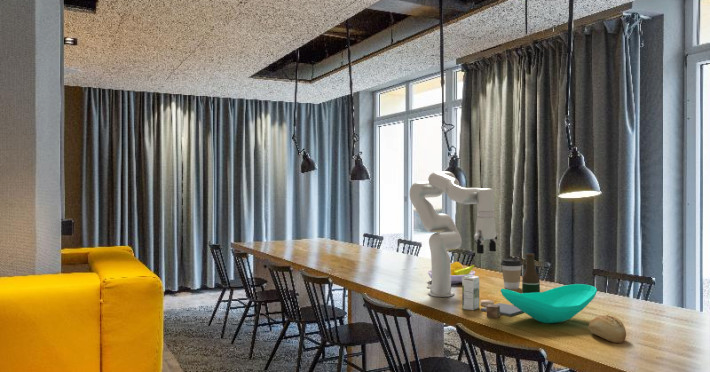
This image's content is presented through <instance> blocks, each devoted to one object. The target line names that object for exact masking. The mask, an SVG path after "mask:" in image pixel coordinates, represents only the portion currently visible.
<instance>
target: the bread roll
mask: <svg viewBox="0 0 710 372" xmlns="http://www.w3.org/2000/svg"><path fill="white" fill-rule="evenodd" d="M588 330H589V332H590V333H591V334H593V335H595V336H598V337H600V338H602V339H605V340H606V341H609V342H611V343H615V344H621V343H624V341H626V337H627V331H626V328H625V325H624V323H623V321H622V320H620V319H619V318H618V317H615V316H611V315H600V316H597V317H594V318H592V319H591V320H590V322H589V324H588Z"/></svg>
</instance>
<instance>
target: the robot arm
mask: <svg viewBox="0 0 710 372" xmlns="http://www.w3.org/2000/svg"><path fill="white" fill-rule="evenodd" d="M494 192H495V191H494V189H493V188H489V187H487V188H485V187H484V188H481V187H461V186H460V182H459V180H458V179H457V178H456V176H455V174H454V173H453V172H450V171H434V172H432V173H430V174H429V176H428V178H427V181H425V180H424V181H416V182H414V183H412V185H411V186H410V188H409V199H410V201H411V205H413V207H414V208H415V210H416V212H417V214H418V216H419V217H418V218H419V219H420V221H421V223H422V226H423V227H424V229H425V231H426V232H427V233H431V235H430V237H429V240H428V245H429V249H430V257H431V258H430V261H431V263H430V264H431V270H432V278H431V284H428V285H426V289H428V290H430V291H428V295H429V296H430V297H436V298H446V297H447V298H448V297H452V296H455V292H454V291H452V284H451V264H452V263H451V258H450V254H449V253H448V251H454V250H457V249H459V248H460V247H461V245H462V236H461V234H460V232H459V230H458V228H457V226H456V224H455V222H454V220H453V218H452V216H450V215H449V214H447V213H438V212H436V209H435V208H434V206H433V205H432V203H431V202H430V201H429V200H427V198H437V197H440V196H442V195H443V194H444V193H445V194H447V196H448V198H449V199H450V200H452V201H454V202H456V203H458V204H461V205H475V204H477V205H476V206H477V209H476V210H477V214H476V215H477V217H476V222H475V234H474V235H473V238H474V241H475V244H476V253H477V254H482V255H483V254H484V252H485V251H484V242H485V241H489V242H488V248H489V249H488V250H489V252H497V244H496V243H497V240H498V236H499V233H498V231H496V221H495V193H494Z"/></svg>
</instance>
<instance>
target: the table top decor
mask: <svg viewBox="0 0 710 372" xmlns="http://www.w3.org/2000/svg"><path fill="white" fill-rule="evenodd" d="M597 292H598V289H597V287H595V286H593V285H589V284H583V283H574V284H565V285H561V286H557V287H553V288H550V289H548V290H545V291H540V292H536V293H522V292H521V293H520V292H517V291H514V290H513V289H506V288H501V289H500V293H501V295H502V296H503V298H504V299H506V300H507V302H509V303H510V304H511V305H514V306H516V307H517V308H519V309H520V310H522V311H523V313H525V314H526V315H527V316H529V317H531V319H534V320H535V321H537V322H540V323H545V324H556V323H562V322H566V321H568V320H571V319H572V318H573V317H575V316H576V315H577V314H579V313H580V312H581V311H583V310H584V309H585V308H586V307H587V306H588V305H589V304H590V303H591V302H593V300H594V298H595V297H596V294H597Z"/></svg>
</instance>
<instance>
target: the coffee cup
mask: <svg viewBox="0 0 710 372" xmlns="http://www.w3.org/2000/svg"><path fill="white" fill-rule="evenodd" d="M500 266H501V270H502V277H503V285H504V289H508V290H518V289H519V288H520V283H521V275H522V274H521V273H522V266H523V263H522V261H521V259H520V258H503V259H502V260H501V262H500Z"/></svg>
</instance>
